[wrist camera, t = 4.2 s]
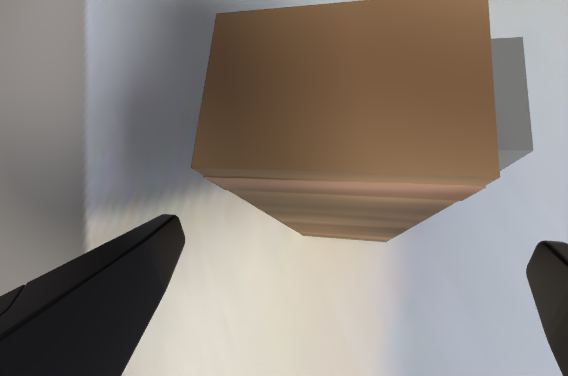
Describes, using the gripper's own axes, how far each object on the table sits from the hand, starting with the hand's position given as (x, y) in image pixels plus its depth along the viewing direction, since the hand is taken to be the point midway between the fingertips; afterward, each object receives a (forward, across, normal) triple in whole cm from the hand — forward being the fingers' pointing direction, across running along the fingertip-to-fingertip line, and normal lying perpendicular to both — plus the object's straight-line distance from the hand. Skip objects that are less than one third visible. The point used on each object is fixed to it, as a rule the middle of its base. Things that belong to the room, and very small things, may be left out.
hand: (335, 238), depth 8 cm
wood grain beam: (+8, 0, +5) cm, 10 cm away
